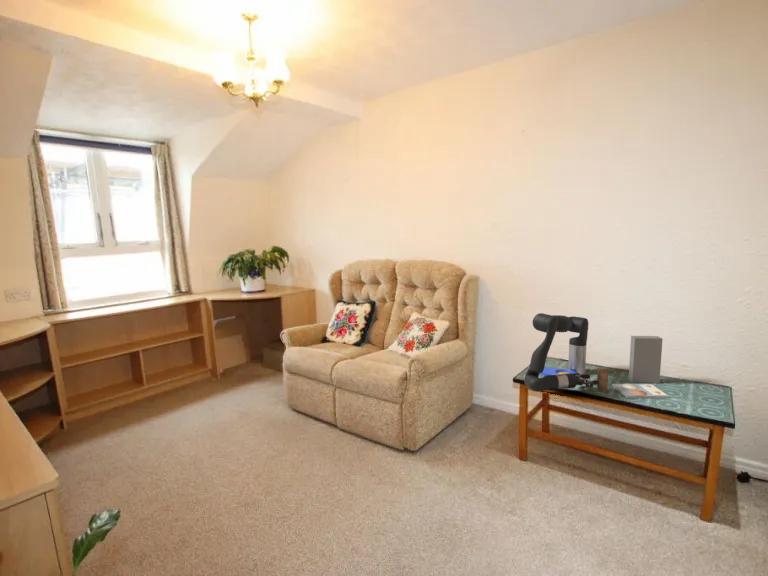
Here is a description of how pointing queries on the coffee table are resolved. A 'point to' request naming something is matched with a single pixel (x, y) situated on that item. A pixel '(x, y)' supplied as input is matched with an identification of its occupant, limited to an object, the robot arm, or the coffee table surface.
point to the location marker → (555, 371)
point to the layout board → (639, 391)
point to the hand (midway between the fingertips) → (594, 379)
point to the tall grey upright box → (645, 359)
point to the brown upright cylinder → (602, 379)
